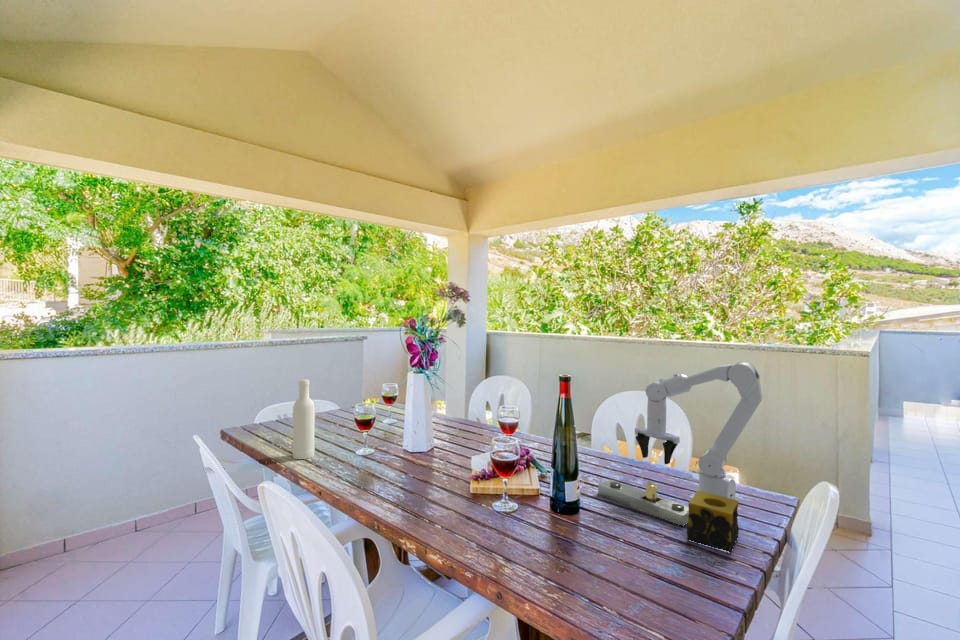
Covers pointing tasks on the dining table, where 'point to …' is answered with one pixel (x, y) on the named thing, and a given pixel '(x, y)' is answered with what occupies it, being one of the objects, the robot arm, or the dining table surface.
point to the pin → (651, 492)
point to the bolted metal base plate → (644, 502)
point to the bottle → (303, 423)
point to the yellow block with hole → (713, 520)
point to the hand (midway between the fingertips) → (655, 460)
